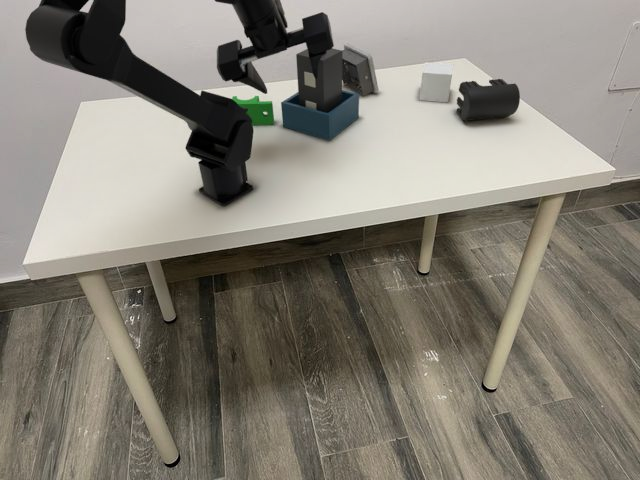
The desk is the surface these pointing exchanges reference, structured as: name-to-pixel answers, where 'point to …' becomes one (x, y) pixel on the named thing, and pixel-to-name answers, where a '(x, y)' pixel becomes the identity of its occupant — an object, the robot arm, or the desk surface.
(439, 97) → the white cube
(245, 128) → the robot arm
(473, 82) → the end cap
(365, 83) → the electrical switch
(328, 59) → the tower
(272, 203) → the desk surface
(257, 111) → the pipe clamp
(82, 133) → the desk surface
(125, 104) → the desk surface
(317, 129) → the compartment
